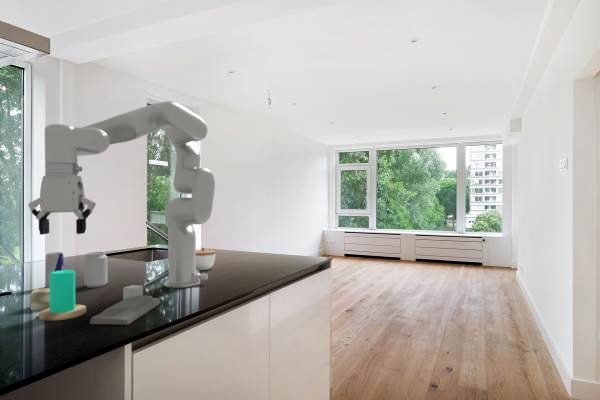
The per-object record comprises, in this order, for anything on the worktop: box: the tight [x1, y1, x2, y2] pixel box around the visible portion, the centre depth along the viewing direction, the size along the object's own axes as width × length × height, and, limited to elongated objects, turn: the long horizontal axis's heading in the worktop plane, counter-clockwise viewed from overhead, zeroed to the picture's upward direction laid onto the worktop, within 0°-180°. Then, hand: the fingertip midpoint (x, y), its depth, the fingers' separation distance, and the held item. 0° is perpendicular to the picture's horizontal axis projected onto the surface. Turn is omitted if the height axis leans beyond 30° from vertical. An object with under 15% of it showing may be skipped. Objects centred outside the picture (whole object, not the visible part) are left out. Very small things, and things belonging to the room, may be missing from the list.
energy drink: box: [45, 251, 65, 288], centre depth 139 cm, size 5×5×12 cm
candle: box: [49, 265, 76, 313], centre depth 106 cm, size 6×6×12 cm
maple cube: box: [30, 287, 50, 311], centre depth 113 cm, size 5×5×5 cm
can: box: [83, 251, 109, 288], centre depth 140 cm, size 8×8×12 cm
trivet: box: [38, 303, 87, 322], centre depth 106 cm, size 11×11×1 cm
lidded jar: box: [196, 247, 216, 271], centre depth 172 cm, size 11×11×9 cm
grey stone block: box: [122, 284, 144, 300], centre depth 121 cm, size 4×4×4 cm
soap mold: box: [89, 294, 161, 326], centre depth 107 cm, size 10×20×4 cm, turn 176°
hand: (62, 233), depth 106 cm, fingers open, 9 cm apart
